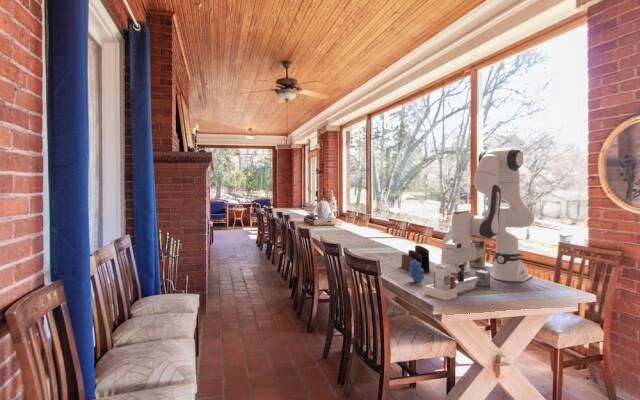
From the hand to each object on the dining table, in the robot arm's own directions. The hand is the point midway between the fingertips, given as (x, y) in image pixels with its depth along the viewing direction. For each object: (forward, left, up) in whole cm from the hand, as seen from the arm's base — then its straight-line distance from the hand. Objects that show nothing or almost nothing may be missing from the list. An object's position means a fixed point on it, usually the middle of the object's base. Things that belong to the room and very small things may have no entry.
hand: (460, 271), depth 199 cm
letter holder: (-18, -46, -10) cm, 50 cm away
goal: (+14, 0, -10) cm, 17 cm away
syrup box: (+13, 0, -10) cm, 16 cm away
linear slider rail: (-2, 0, -9) cm, 9 cm away
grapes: (+6, -24, -10) cm, 27 cm away
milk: (-35, -30, -10) cm, 47 cm away
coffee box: (-56, -30, -10) cm, 64 cm away
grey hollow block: (-18, 0, -10) cm, 20 cm away
